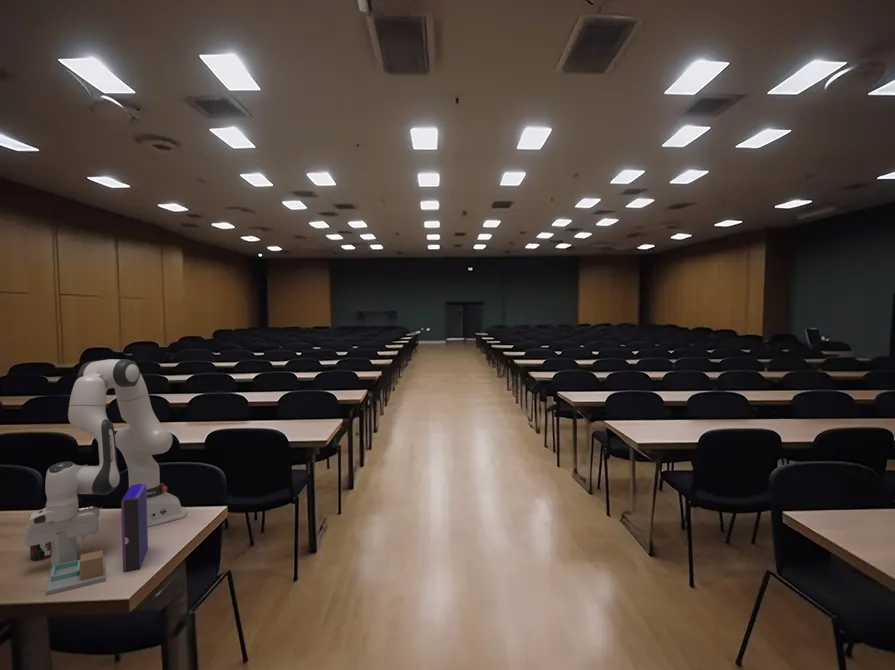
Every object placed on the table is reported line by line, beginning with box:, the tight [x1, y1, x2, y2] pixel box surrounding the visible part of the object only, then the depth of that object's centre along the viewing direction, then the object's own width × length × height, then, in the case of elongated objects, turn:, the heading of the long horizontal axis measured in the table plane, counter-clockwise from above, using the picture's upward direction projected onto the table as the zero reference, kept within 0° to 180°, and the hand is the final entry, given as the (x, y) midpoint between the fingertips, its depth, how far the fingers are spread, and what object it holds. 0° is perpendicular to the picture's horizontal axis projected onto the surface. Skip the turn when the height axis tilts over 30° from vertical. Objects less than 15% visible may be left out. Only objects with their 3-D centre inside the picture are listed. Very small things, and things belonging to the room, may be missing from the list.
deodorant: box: [28, 515, 51, 562], centre depth 183 cm, size 6×6×15 cm
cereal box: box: [120, 484, 149, 573], centre depth 181 cm, size 17×5×24 cm, turn 22°
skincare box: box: [50, 532, 78, 568], centre depth 178 cm, size 6×4×12 cm
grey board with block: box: [45, 549, 106, 596], centre depth 170 cm, size 15×18×7 cm
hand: (63, 551), depth 177 cm, fingers open, 7 cm apart
